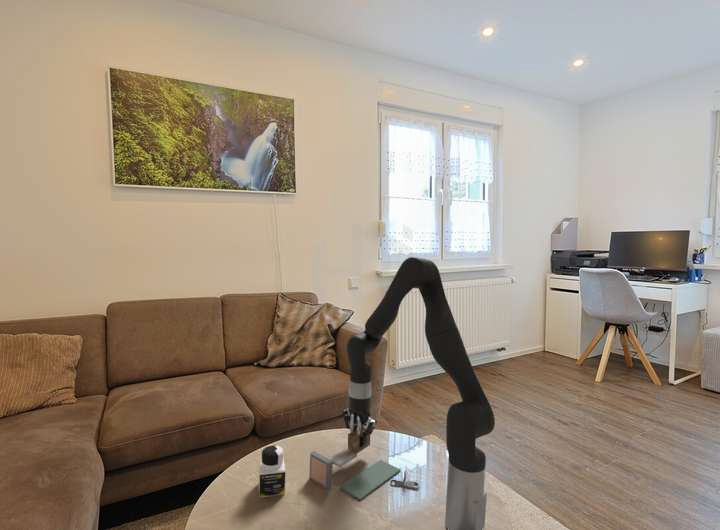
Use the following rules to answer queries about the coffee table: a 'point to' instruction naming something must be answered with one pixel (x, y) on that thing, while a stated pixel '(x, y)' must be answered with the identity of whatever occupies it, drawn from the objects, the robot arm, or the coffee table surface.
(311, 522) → the coffee table surface
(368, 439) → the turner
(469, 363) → the robot arm
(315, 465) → the tile
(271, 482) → the medicine bottle
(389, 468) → the mat
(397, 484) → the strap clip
